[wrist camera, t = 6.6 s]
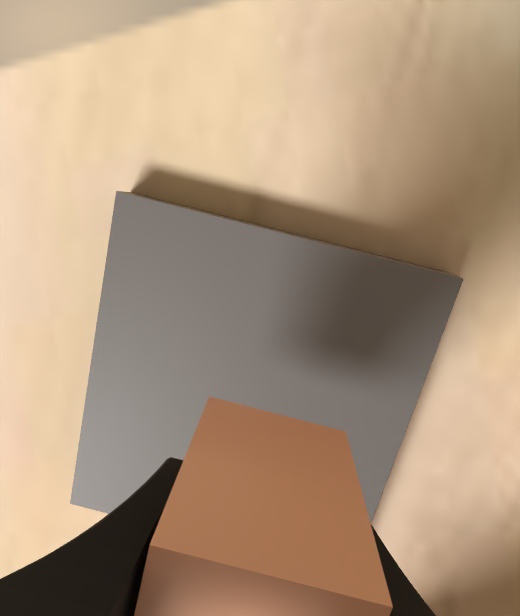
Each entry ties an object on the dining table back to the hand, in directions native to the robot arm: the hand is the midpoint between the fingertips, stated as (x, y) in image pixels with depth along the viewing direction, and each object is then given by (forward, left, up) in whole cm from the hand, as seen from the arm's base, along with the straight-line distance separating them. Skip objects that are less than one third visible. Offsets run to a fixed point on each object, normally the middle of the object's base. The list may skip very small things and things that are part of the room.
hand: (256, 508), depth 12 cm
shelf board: (0, +1, -8) cm, 8 cm away
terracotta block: (0, 0, -2) cm, 2 cm away
